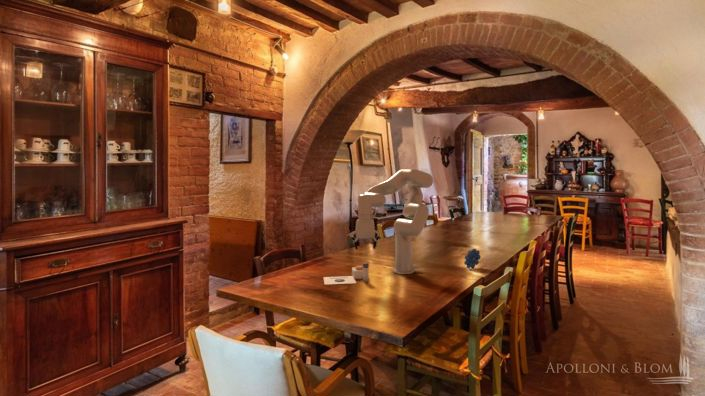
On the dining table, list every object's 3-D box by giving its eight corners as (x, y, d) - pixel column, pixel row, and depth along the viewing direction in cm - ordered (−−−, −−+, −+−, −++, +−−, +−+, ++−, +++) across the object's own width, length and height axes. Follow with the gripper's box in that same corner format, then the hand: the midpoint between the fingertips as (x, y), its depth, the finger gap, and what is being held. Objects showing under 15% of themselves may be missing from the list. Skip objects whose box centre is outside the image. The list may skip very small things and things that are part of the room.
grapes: (475, 265, 257) (475, 246, 256) (482, 268, 251) (483, 248, 250) (460, 267, 253) (460, 248, 252) (467, 270, 246) (467, 250, 245)
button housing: (365, 274, 238) (365, 266, 238) (367, 278, 230) (367, 270, 230) (351, 275, 238) (351, 267, 237) (353, 278, 230) (353, 271, 229)
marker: (368, 280, 226) (368, 262, 225) (369, 282, 223) (369, 264, 222) (362, 280, 226) (362, 262, 225) (363, 282, 223) (363, 264, 222)
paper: (353, 276, 235) (353, 275, 235) (356, 283, 221) (356, 282, 221) (323, 277, 233) (323, 276, 233) (324, 284, 219) (324, 284, 219)
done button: (362, 270, 236) (362, 265, 235) (363, 272, 232) (363, 267, 232) (356, 270, 235) (356, 265, 235) (356, 272, 232) (356, 267, 232)
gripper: (379, 216, 226) (379, 246, 227) (348, 216, 224) (348, 247, 226) (382, 217, 219) (382, 249, 220) (349, 218, 217) (350, 250, 218)
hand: (365, 248), depth 223 cm, fingers open, 9 cm apart
